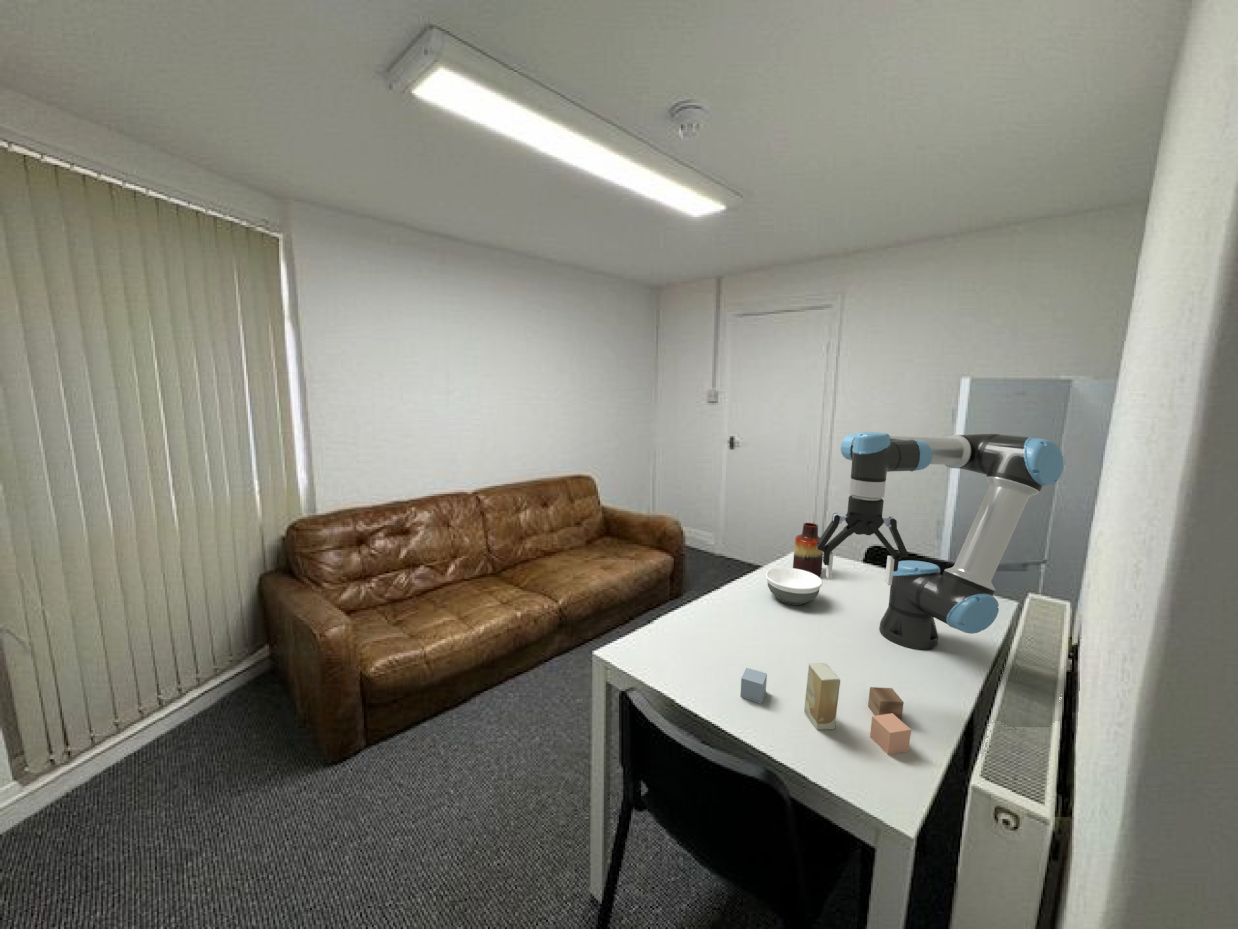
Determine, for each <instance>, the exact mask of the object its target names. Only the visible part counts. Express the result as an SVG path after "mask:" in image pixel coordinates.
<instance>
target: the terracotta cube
mask: <svg viewBox="0 0 1238 929" xmlns="http://www.w3.org/2000/svg"><path fill="white" fill-rule="evenodd" d="M911 733H912V728H910V727H909V726H907V724H905V723H904V722H903V721H902V720H900V719H898V718H897V717H896V716H895V715H894V714H893V713H891V714H884V715H877V716H874V715H872V716H871V725H870V733H869V738H870V739H871V740H872V741H873V742H874V743H875V744H876V745H877V746H878V747H879V748H880V749H881V750H882V751H883V752H884V753H885V754H886V755H892V754H898V753H904V752H905V753H906V752H909V749H910V742H911Z"/></svg>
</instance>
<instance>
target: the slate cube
mask: <svg viewBox="0 0 1238 929" xmlns="http://www.w3.org/2000/svg"><path fill="white" fill-rule="evenodd" d="M767 679H768V673H767V672H764V671H761V670H757V669H753V668H751V667H750V668H749V667H745V669H744V671H743V674H742V676H741V679H740V697H741V698H742V699H746V700H749V701H753V702H755V703H759V704H761V705H762V703H763V701H764V698H765V695H766V693H767Z"/></svg>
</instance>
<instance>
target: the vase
mask: <svg viewBox="0 0 1238 929" xmlns="http://www.w3.org/2000/svg"><path fill="white" fill-rule="evenodd" d="M820 538H821V536H819V525H818V524H817V523H814V522H804V523H803V524H802V530H801V534H797V535H796V536H795V538H794V548H793V550H794V551H793V559H792V568H795V569H800V570H804V571H808V572H810V573H813V574H815V575H817V576H818V577H819V578H821V576H822V572H823V571H822V569H823V553H824V552H823V551H821V550H818V548H817V546H816V544H817V542H818V541H819V539H820Z"/></svg>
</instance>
